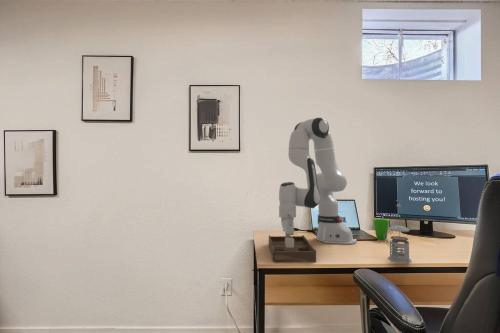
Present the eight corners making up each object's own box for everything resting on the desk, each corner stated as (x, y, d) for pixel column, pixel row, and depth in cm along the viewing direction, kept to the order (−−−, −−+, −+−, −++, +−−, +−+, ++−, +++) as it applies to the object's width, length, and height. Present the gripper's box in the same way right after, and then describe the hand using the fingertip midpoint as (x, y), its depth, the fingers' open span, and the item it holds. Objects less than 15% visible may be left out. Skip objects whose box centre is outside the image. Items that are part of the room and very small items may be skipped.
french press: (404, 264, 123) (403, 205, 124) (379, 257, 133) (378, 203, 133) (416, 260, 128) (415, 204, 129) (391, 254, 138) (391, 202, 139)
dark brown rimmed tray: (268, 244, 157) (268, 235, 157) (303, 244, 157) (303, 235, 157) (273, 262, 127) (273, 250, 127) (316, 261, 127) (316, 250, 127)
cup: (373, 240, 167) (372, 221, 167) (372, 236, 175) (372, 218, 175) (390, 241, 163) (390, 222, 163) (389, 237, 172) (389, 219, 172)
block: (285, 245, 146) (284, 237, 146) (292, 245, 146) (292, 237, 146) (286, 247, 142) (285, 239, 142) (294, 247, 142) (294, 239, 142)
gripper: (296, 216, 140) (296, 245, 139) (290, 210, 160) (290, 235, 160) (283, 216, 140) (283, 245, 139) (279, 210, 160) (279, 235, 160)
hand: (287, 240), depth 150 cm, fingers closed
